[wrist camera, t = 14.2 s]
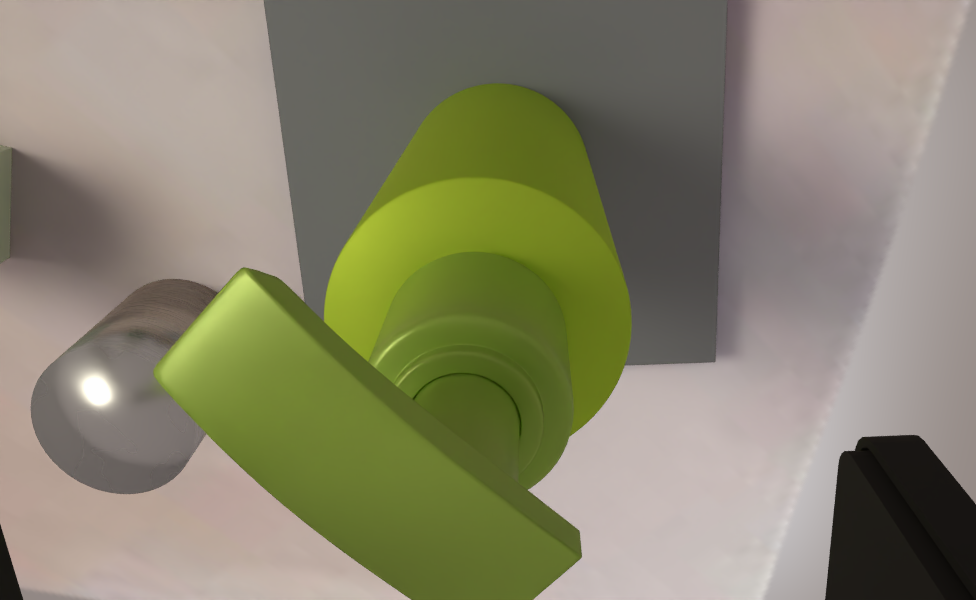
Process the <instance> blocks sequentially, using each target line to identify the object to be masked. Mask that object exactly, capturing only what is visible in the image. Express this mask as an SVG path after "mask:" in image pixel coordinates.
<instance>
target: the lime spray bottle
mask: <svg viewBox="0 0 976 600" xmlns="http://www.w3.org/2000/svg"><path fill="white" fill-rule="evenodd" d="M631 329H632V315H631V305H630V298H629V293H628V289H627V285H626V282H625V278H624V275H623V272H622V268H621V265H620V262H619V258H618V255H617V252H616V248H615V245H614V242H613V238H612V235H611V232H610V228H609V225H608V222H607V218H606V215H605V212H604V208H603V205H602V202H601V198H600V195H599V192H598V189H597V185H596V182H595V179H594V175H593V172H592V169H591V165H590V162H589V159H588V155H587V152H586V149H585V146H584V143H583V140H582V138H581V136H580V134H579V132H578V130H577V128H576V126H575V125H574V123H573V122H572V121H571V119H570V118H569V117H568V116H567V114H566V113H565V112H564V111H563V110H562V109H561V108H560V107H559V106H557V105H556V104H555V103H554V102H552V101H551V100H550V99H548V98H547V97H545V96H543V95H541V94H539V93H537V92H535V91H533V90H530V89H528V88H525V87H521V86H517V85H512V84H501V83H493V84H483V85H478V86H474V87H470V88H467V89H465V90H462V91H460V92H458V93H456V94H454V95H452V96H450V97H449V98H447V99H445V100H444V101H443V102H441V103H440V104H439V105H438V106H437V107H435V108H434V109H433V110H432V111H431V112H430V113H429V115H428V116H427V117H426V118H425V120H424V121H423V122H422V124H421V125H420V127H419V128H418V130H417V132H416V133H415V135H414V136H413V138H412V139H411V141H410V143H409V144H408V146H407V147H406V149H405V151H404V152H403V154H402V155H401V157H400V158H399V160H398V162H397V163H396V165H395V166H394V168H393V170H392V171H391V173H390V174H389V176H388V177H387V179H386V181H385V182H384V184H383V185H382V187H381V188H380V190H379V192H378V193H377V195H376V196H375V198H374V200H373V201H372V203H371V204H370V206H369V207H368V209H367V211H366V212H365V214H364V215H363V217H362V218H361V220H360V222H359V223H358V225H357V226H356V228H355V230H354V231H353V233H352V234H351V236H350V237H349V239H348V241H347V242H346V244H345V245H344V247H343V249H342V251H341V252H340V254H339V256H338V258H337V260H336V262H335V265H334V267H333V270H332V273H331V275H330V279H329V282H328V286H327V291H326V296H325V304H324V321H323V320H322V319H321V318H320V317H319V316H318V315H317V314H316V313H315V312H314V311H313V310H312V309H311V308H310V307H309V306H307V305H306V304H305V303H304V302H303V301H302V300H301V299H300V298H299V297H298V296H297V295H296V294H295V293H294V292H293V291H292V290H291V289H290V288H289V287H288V286H287V285H286V284H285V283H284V282H283V281H281V280H280V279H279V278H277V277H275V276H272V275H269V274H266V273H263V272H261V271H257V270H254V269H249V268H241V269H240V270H239V271H238V272H237V273H236V274H235V275H234V276H233V277H232V278H231V279H230V281H229V282H228V283H227V284H226V285H225V286H224V287H223V288H222V290H221V291H220V292H219V293H218V294H217V295H216V296H215V298H214V299H213V300H212V301H211V302H210V303H209V304H208V306H207V307H206V308H205V309H204V310H203V311H202V312H201V314H200V315H199V316H198V317H197V318H196V319H195V320H194V322H193V323H192V324H191V325H190V326H189V327H188V329H187V330H186V331H185V332H184V333H183V334H182V336H181V337H180V338H179V339H178V340H177V341H176V343H175V344H174V345H173V346H172V347H171V348H170V350H169V351H168V352H167V353H166V354H165V355H164V357H163V358H162V359H161V360H160V361H159V362H158V364H157V365H156V366H155V368H154V370H153V374H154V377H155V378H156V380H157V381H158V382H159V384H160V385H161V386H162V387H163V388H164V389H165V391H166V392H167V393H168V394H169V395H170V396H171V397H172V398H173V399H174V401H175V402H176V403H177V404H178V405H179V406H180V407H181V408H182V409H183V410H184V411H185V412H186V413H187V414H188V415H189V416H190V417H191V418H192V419H193V420H194V421H195V422H196V423H197V425H198V426H199V427H200V428H201V429H202V430H203V431H204V432H205V433H206V434H207V435H208V436H209V437H210V438H211V439H212V440H213V441H214V442H215V443H216V444H217V445H218V446H219V447H220V448H221V449H222V450H223V451H224V452H225V453H227V454H228V455H229V456H230V457H231V458H232V459H233V460H234V461H235V462H236V463H237V464H238V465H239V466H240V467H241V468H242V469H243V470H244V471H246V472H247V473H248V474H249V475H250V476H251V477H252V478H253V479H254V480H255V481H256V482H258V483H259V484H260V485H261V486H262V487H263V488H264V489H265V490H267V491H268V492H269V493H270V494H271V495H272V496H274V497H275V498H276V499H277V500H278V501H279V502H281V503H282V504H283V505H284V506H285V507H287V508H288V509H289V510H290V511H291V512H293V513H294V514H295V515H296V516H298V517H299V518H300V519H301V520H302V521H304V522H305V523H306V524H308V525H309V526H310V527H311V528H313V529H314V530H315V531H316V532H318V533H319V534H320V535H322V536H323V537H324V538H326V539H327V540H328V541H329V542H331V543H332V544H333V545H335V546H336V547H338V548H339V549H340V550H342V551H343V552H344V553H346V554H347V555H348V556H350V557H351V558H353V559H354V560H355V561H357V562H358V563H359V564H361V565H362V566H364V567H365V568H366V569H368V570H369V571H371V572H372V573H374V574H375V575H376V576H378V577H379V578H381V579H382V580H384V581H385V582H386V583H388V584H389V585H391V586H392V587H394V588H395V589H397V590H398V591H399V592H401V593H402V594H404V595H405V596H407V597H408V598H410V599H411V600H533V599H534V598H535V597H536V596H538V595H539V594H540V593H541V592H542V591H543V590H545V589H546V588H547V587H548V586H549V585H551V584H552V583H553V582H554V581H555V580H556V579H558V578H559V577H560V576H561V575H562V574H563V573H565V572H566V571H567V570H568V569H569V568H570V567H572V566H573V565H574V564H575V563H576V562H577V561H578V560H580V559H581V557H582V552H581V541H580V532H579V530H578V529H577V528H575V527H574V526H573V525H572V524H570V523H569V522H568V521H566V520H565V519H564V518H563V517H561V516H560V515H559V514H557V513H556V512H555V511H554V510H552V509H551V508H550V507H548V506H547V505H546V504H545V503H543V502H542V501H541V500H539V499H538V498H537V497H536V496H534V495H533V494H532V493H530V492H529V491H528V489H530V488H531V487H533V486H534V485H536V484H537V483H538V482H539V481H541V480H542V479H543V478H544V477H545V476H546V475H547V474H548V473H549V472H550V471H551V470H552V468H553V467H554V466H555V465H556V463H557V462H558V460H559V459H560V457H561V455H562V453H563V451H564V449H565V447H566V445H567V442H568V439H569V436H571V435H572V434H574V433H575V432H576V431H578V430H579V429H580V428H581V427H583V426H584V425H585V424H586V423H587V422H588V421H589V420H590V419H591V418H592V417H593V416H594V415H595V414H596V413H597V412H598V411H599V410H600V408H601V407H602V406H603V405H604V403H605V402H606V401H607V399H608V398H609V396H610V395H611V393H612V391H613V390H614V388H615V386H616V384H617V382H618V380H619V378H620V376H621V374H622V371H623V368H624V366H625V363H626V359H627V356H628V351H629V347H630V340H631Z"/></svg>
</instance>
